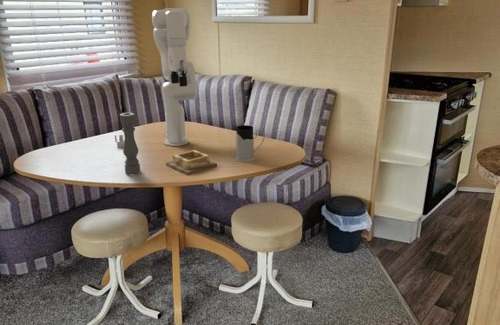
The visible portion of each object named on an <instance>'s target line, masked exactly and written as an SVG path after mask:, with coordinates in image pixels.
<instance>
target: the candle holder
mask: <svg viewBox="0 0 500 325" xmlns="http://www.w3.org/2000/svg"><path fill="white" fill-rule="evenodd" d="M119 119H120V124H121V126H122V128H121V131H122V133H123V134H124V135H123V138H124V140H125V141H124V140H123V141H124V147H123V149H122V151H123V152H122V154H123V155H124V156H125V158H126V159H125V161H124V171H125V174H126V175H128V174H135V175H138V174H140V173H141V164H140V163H139V162H140V161H139V159H138V158H137V157H138V155H139V148H138V145H137V143H136V142H137V141H136V139H135V131H136V127H134V126H135V122H136V118H135V113H134V112H122V113H120V114H119ZM139 172H140V173H139ZM137 173H138V174H137Z"/></svg>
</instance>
